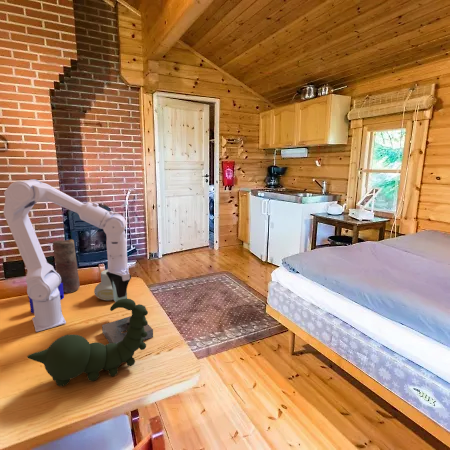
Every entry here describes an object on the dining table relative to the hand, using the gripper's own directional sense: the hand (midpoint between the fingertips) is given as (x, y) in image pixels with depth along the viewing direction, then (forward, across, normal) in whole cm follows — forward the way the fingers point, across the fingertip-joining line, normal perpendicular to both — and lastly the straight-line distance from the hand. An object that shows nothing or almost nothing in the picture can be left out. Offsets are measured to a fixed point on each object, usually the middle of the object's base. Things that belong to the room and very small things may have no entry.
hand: (119, 294), depth 95 cm
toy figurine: (+8, -22, +14) cm, 28 cm away
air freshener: (+8, +17, -2) cm, 19 cm away
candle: (+8, +33, +9) cm, 35 cm away
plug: (+2, 0, 0) cm, 2 cm away
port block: (+8, -11, +2) cm, 14 cm away
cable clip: (+8, +24, +18) cm, 31 cm away
